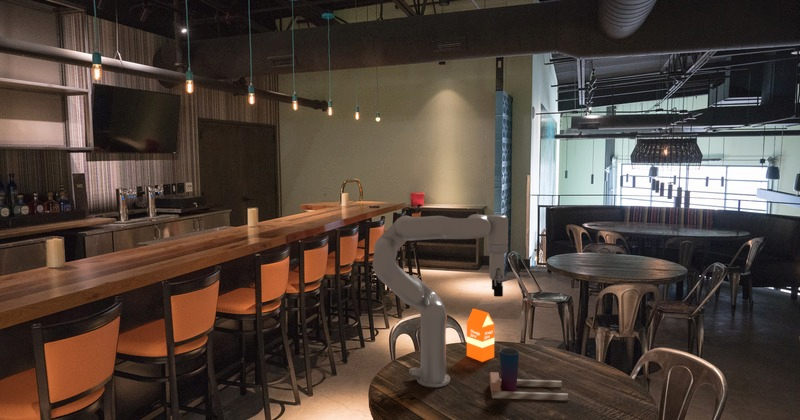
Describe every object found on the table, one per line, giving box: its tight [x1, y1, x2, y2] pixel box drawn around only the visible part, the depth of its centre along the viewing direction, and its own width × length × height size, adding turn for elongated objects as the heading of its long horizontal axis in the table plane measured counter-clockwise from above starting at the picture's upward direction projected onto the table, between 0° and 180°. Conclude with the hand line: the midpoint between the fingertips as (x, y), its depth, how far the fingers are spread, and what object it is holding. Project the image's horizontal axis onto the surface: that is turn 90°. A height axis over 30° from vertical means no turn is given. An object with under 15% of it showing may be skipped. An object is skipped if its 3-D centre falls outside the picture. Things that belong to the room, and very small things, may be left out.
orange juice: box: [466, 308, 495, 363], centre depth 217 cm, size 8×9×20 cm
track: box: [489, 371, 569, 401], centre depth 185 cm, size 26×11×5 cm, turn 84°
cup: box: [499, 347, 520, 392], centre depth 185 cm, size 7×7×15 cm
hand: (497, 292), depth 194 cm, fingers open, 9 cm apart
